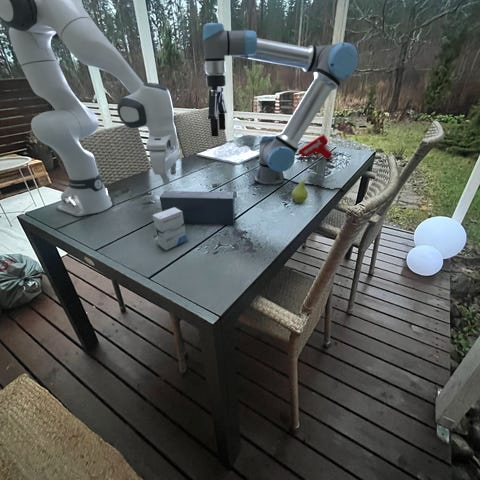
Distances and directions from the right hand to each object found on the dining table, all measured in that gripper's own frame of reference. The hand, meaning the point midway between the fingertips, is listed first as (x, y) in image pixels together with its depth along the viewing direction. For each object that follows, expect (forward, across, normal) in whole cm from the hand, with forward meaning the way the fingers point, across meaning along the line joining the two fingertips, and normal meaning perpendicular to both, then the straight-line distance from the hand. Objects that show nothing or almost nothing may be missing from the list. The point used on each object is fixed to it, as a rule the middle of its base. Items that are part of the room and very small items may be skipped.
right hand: (218, 132), depth 116 cm
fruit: (+28, +5, +36) cm, 46 cm away
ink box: (+27, +46, -7) cm, 54 cm away
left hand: (+10, +30, -12) cm, 33 cm away
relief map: (+28, -65, -10) cm, 71 cm away
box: (+28, +29, -2) cm, 40 cm away
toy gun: (+28, -66, +47) cm, 85 cm away
